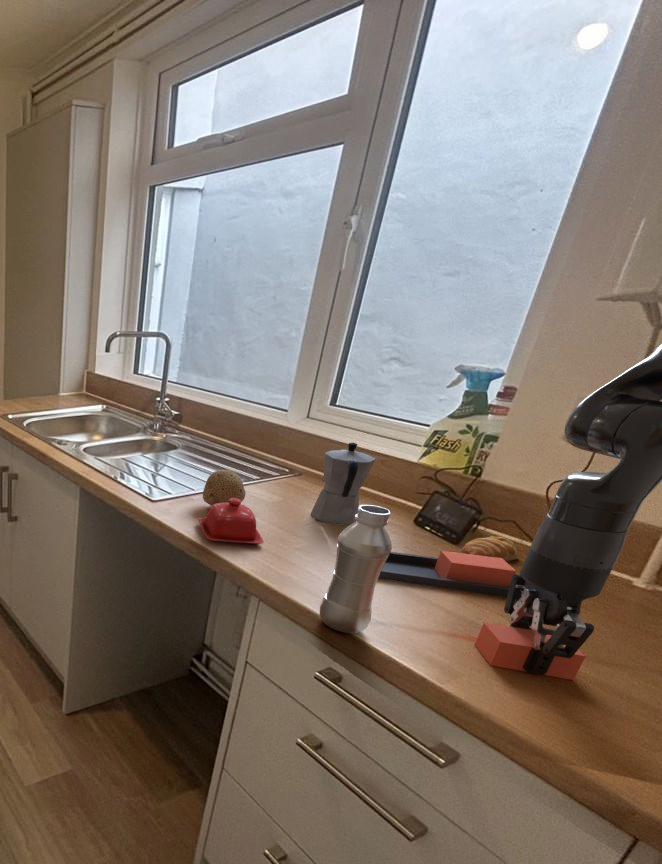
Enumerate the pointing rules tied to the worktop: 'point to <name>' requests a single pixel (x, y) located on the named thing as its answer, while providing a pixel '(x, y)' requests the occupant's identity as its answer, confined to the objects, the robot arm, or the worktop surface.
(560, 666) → the red toy brick
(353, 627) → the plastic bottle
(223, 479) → the natural sponge
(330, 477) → the coffeepot
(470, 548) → the pastry
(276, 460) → the worktop surface
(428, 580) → the tray
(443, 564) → the red block
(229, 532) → the butter dish
